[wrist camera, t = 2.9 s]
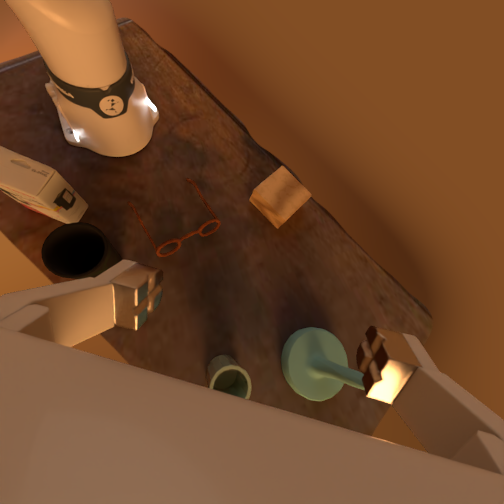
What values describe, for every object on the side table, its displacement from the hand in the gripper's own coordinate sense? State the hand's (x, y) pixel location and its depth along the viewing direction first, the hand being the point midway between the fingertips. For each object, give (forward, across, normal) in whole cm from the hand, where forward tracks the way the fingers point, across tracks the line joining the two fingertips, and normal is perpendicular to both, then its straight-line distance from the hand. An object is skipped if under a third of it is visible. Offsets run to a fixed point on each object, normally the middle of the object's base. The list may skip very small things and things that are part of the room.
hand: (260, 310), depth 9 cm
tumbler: (+22, +3, +32) cm, 39 cm away
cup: (+26, +28, +20) cm, 43 cm away
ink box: (+30, +39, +12) cm, 51 cm away
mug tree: (+29, -13, +30) cm, 44 cm away
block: (+47, +1, +6) cm, 47 cm away
